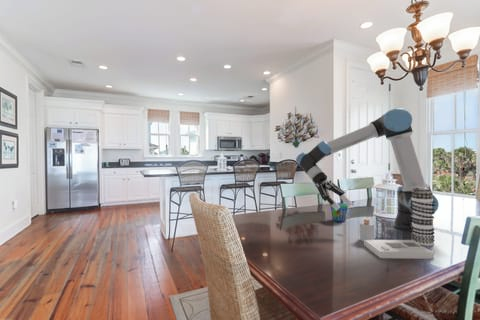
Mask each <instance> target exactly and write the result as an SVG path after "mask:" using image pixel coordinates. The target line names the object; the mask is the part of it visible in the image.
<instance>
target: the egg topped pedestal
mask: <svg viewBox="0 0 480 320" xmlns="http://www.w3.org/2000/svg"><path fill="white" fill-rule="evenodd" d="M359 240H360V241H362V243H364V240H375V224H372V223H371V222H370V219H368V218H364V219H363V222H359Z"/></svg>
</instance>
